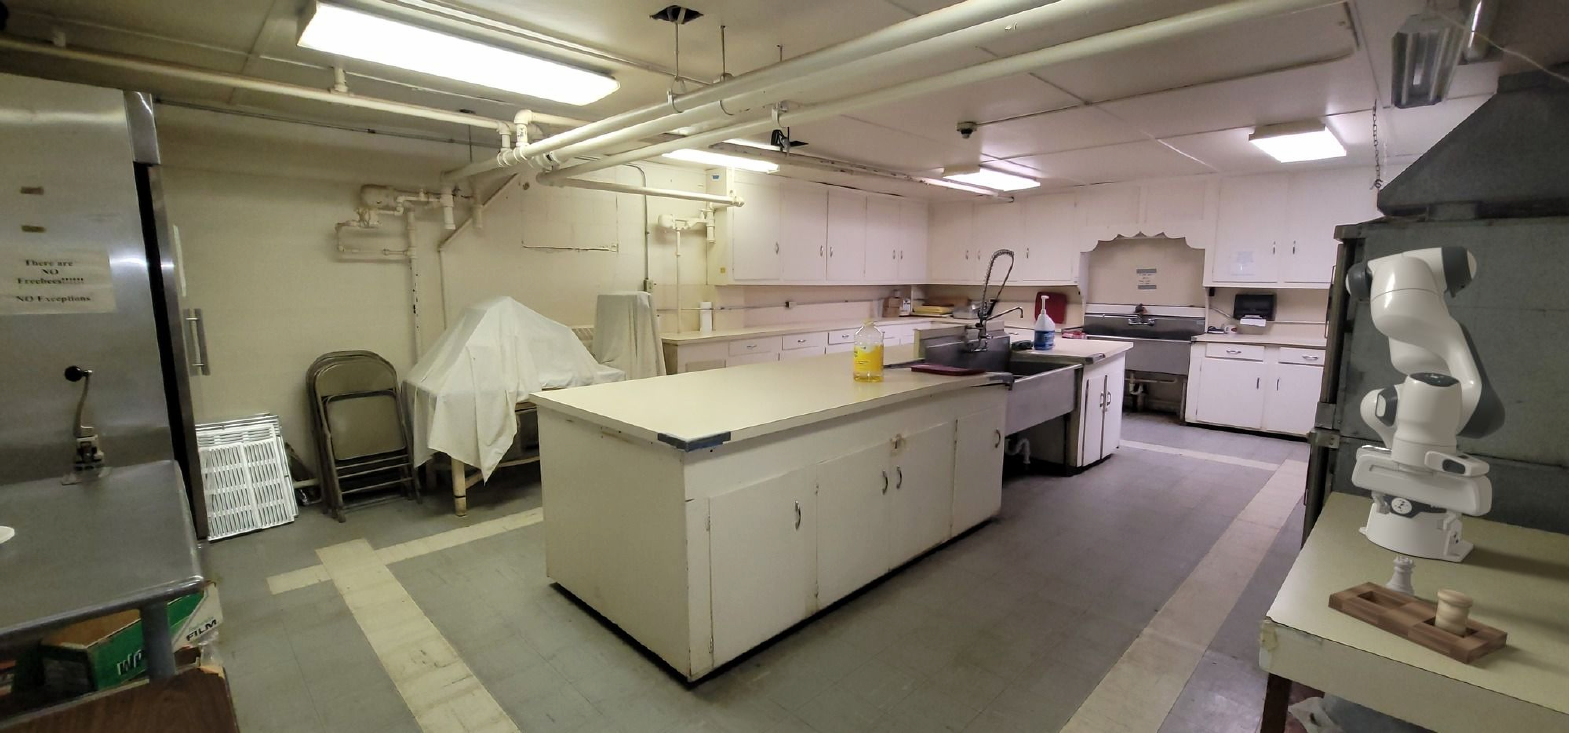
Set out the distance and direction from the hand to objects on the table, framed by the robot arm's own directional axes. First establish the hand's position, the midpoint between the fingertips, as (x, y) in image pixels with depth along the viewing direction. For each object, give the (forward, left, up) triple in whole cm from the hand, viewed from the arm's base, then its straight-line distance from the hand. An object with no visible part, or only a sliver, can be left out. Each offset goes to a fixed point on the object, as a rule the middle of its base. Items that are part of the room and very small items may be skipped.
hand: (1411, 521), depth 127 cm
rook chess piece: (0, 0, -16) cm, 16 cm away
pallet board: (+12, +7, -16) cm, 21 cm away
